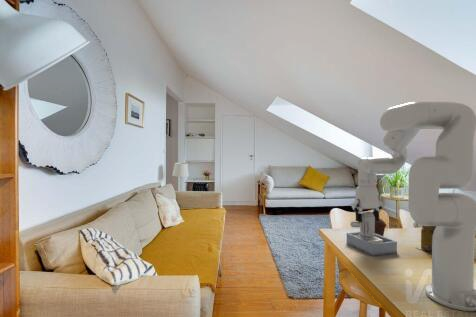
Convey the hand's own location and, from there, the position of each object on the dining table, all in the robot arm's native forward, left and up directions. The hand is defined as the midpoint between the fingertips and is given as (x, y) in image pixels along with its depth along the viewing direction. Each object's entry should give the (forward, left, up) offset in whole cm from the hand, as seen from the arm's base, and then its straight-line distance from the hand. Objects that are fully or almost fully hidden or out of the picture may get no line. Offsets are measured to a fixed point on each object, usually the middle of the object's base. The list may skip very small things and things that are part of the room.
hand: (367, 221), depth 117 cm
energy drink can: (0, 0, -11) cm, 11 cm away
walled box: (-2, 0, -12) cm, 12 cm away
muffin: (+11, -15, -12) cm, 22 cm away
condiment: (-12, -24, -12) cm, 29 cm away
